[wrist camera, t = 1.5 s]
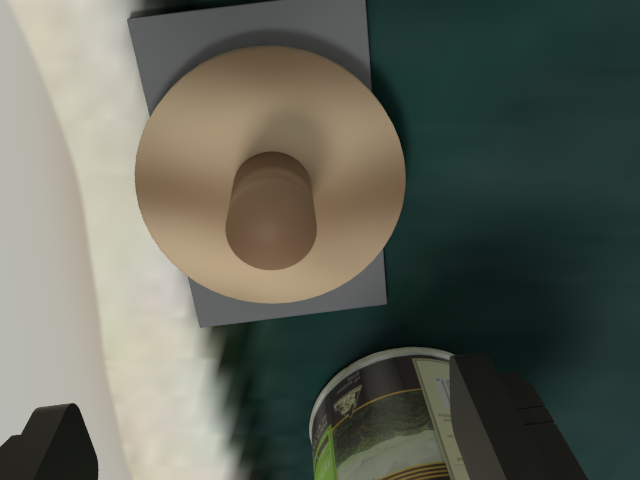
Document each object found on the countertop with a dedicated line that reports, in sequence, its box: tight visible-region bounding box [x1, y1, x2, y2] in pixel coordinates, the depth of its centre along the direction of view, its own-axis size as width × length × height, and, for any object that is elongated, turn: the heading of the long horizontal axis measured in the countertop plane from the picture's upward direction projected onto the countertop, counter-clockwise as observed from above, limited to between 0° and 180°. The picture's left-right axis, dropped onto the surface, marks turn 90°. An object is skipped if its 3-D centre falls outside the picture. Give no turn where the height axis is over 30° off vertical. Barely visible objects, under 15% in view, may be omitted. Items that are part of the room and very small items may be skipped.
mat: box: [127, 0, 387, 328], centre depth 26 cm, size 14×9×1 cm, turn 6°
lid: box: [135, 45, 406, 304], centre depth 23 cm, size 11×11×5 cm
